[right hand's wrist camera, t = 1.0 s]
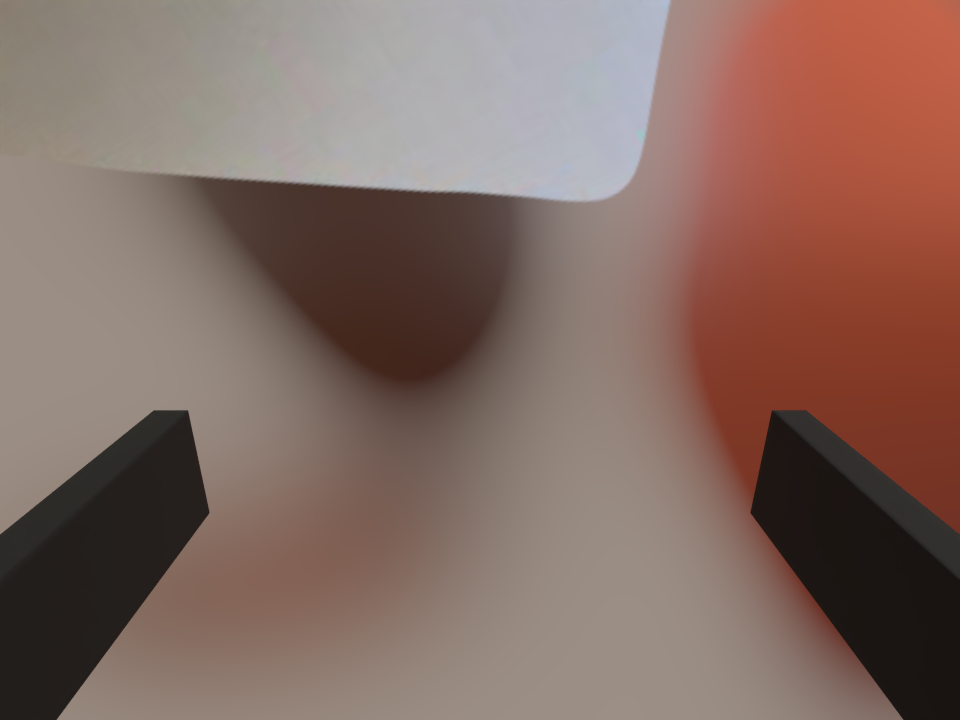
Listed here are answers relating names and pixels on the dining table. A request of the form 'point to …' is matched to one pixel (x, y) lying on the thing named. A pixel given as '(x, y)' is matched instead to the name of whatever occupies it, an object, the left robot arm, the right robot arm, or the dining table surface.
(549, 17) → the dining table surface
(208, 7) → the dining table surface
